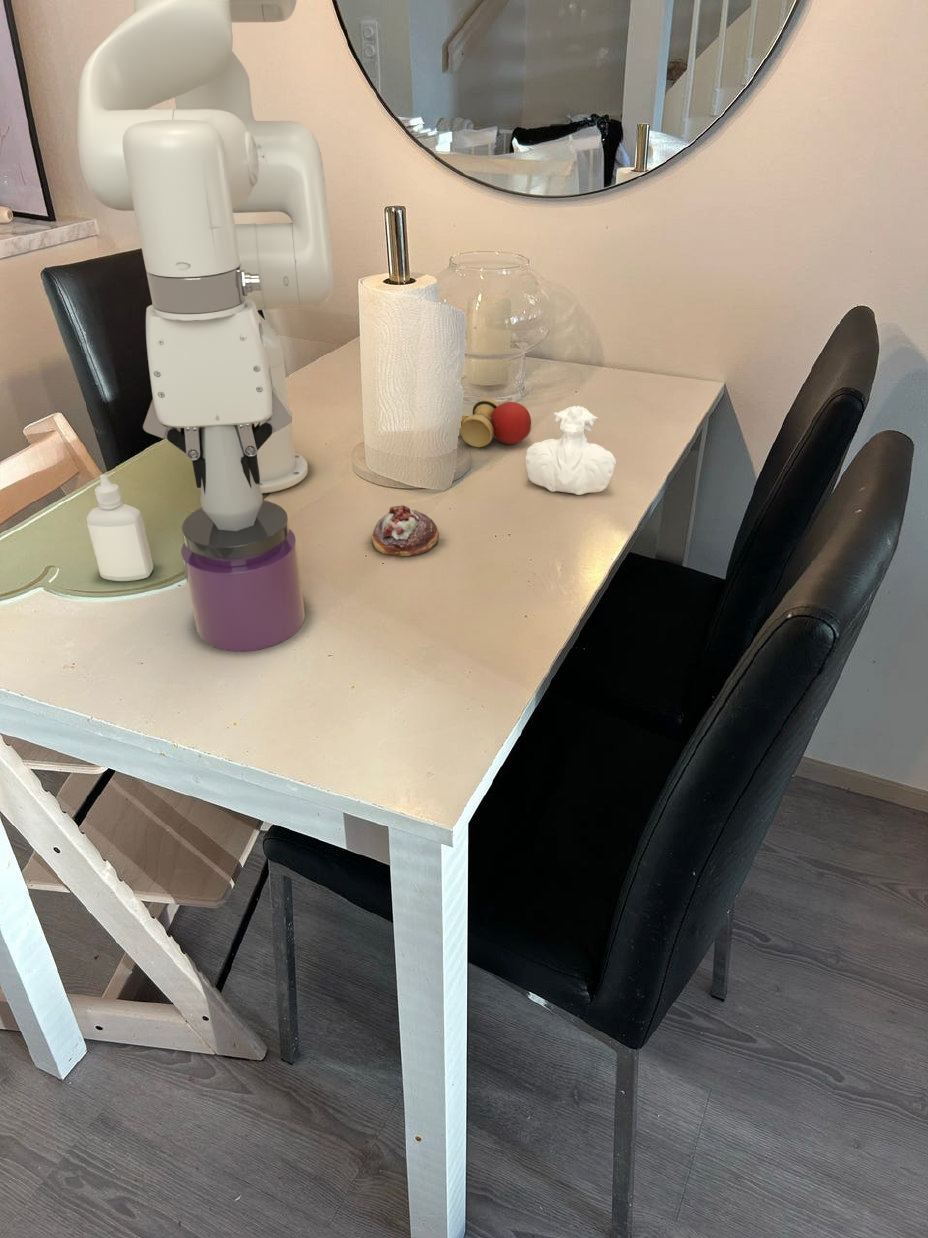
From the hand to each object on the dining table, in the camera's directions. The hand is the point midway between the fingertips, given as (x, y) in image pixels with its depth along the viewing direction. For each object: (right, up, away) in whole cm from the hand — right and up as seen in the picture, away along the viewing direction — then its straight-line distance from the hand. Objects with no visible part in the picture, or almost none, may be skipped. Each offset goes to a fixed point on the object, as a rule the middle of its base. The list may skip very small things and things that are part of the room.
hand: (230, 490), depth 84 cm
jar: (0, -12, +8) cm, 15 cm away
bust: (+36, +6, +35) cm, 51 cm away
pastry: (+15, -3, +22) cm, 27 cm away
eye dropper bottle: (-16, -7, +16) cm, 24 cm away
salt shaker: (0, -3, +2) cm, 4 cm away
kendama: (+23, +14, +48) cm, 55 cm away
